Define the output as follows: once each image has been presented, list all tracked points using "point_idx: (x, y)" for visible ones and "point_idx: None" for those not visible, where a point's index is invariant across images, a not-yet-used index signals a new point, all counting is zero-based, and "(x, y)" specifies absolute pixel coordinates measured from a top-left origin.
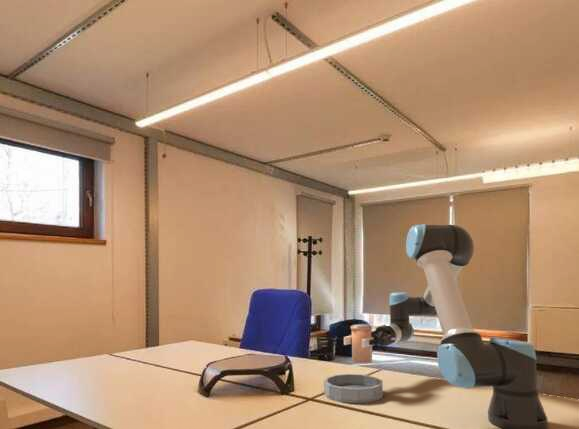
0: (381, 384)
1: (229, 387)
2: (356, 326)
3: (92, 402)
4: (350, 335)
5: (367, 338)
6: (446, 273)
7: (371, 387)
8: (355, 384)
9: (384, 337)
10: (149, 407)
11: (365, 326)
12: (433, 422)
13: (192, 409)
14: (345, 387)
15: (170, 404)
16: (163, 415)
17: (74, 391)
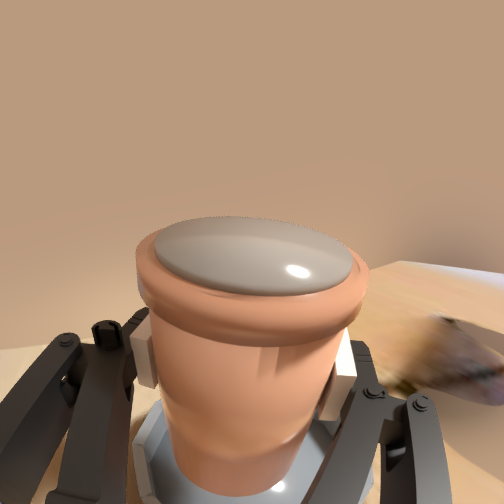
0: (133, 445)
1: (479, 352)
2: (263, 219)
3: (460, 275)
4: (410, 401)
5: None
6: None
7: (161, 404)
8: None
9: (37, 369)
10: (427, 282)
11: (192, 222)
12: (38, 348)
13: (400, 291)
14: (305, 493)
15: (429, 292)
16: (395, 277)
17: (495, 282)
